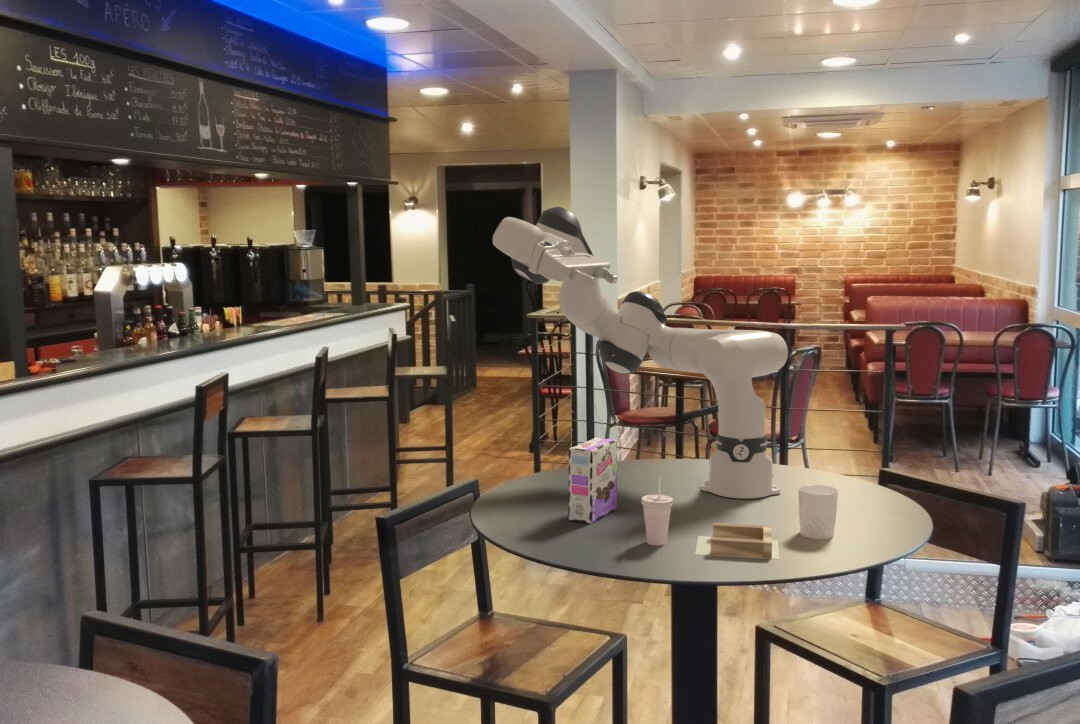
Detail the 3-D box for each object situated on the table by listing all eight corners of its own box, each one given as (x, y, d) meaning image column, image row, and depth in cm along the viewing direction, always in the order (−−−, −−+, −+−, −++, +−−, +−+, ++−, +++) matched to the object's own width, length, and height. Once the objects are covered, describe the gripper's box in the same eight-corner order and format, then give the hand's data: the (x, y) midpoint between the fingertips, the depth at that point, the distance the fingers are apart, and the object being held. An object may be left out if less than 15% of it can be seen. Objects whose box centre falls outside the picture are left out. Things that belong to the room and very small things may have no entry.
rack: (713, 537, 206) (713, 522, 205) (770, 540, 203) (771, 525, 203) (710, 554, 194) (710, 539, 194) (771, 558, 192) (772, 543, 192)
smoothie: (664, 551, 198) (665, 482, 196) (635, 546, 201) (635, 478, 200) (677, 543, 203) (678, 476, 202) (649, 538, 207) (649, 472, 205)
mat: (698, 538, 207) (698, 535, 207) (777, 542, 203) (777, 540, 203) (694, 556, 195) (694, 554, 195) (779, 561, 192) (779, 559, 192)
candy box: (591, 524, 217) (591, 450, 215) (567, 521, 220) (567, 447, 217) (618, 509, 229) (618, 438, 227) (595, 505, 232) (595, 436, 229)
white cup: (806, 528, 213) (808, 482, 212) (842, 535, 208) (844, 488, 207) (790, 537, 207) (792, 490, 206) (826, 544, 202) (828, 496, 201)
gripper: (574, 268, 231) (623, 292, 224) (524, 271, 214) (575, 297, 207) (582, 242, 229) (632, 266, 222) (533, 244, 212) (585, 269, 205)
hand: (604, 281), depth 215 cm, fingers open, 8 cm apart
